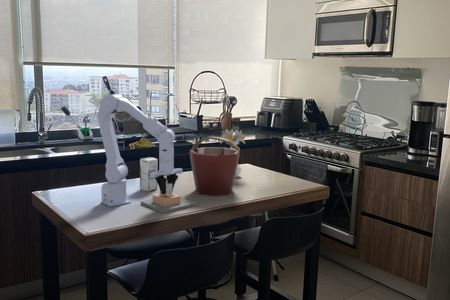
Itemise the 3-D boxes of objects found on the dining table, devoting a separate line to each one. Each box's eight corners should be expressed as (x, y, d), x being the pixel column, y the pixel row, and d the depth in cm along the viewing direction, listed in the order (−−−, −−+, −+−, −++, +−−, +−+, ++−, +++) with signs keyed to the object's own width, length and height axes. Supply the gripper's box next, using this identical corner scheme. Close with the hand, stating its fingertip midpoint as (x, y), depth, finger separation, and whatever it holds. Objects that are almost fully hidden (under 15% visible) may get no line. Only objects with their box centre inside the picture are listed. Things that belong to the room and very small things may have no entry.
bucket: (249, 193, 204) (251, 138, 200) (212, 201, 189) (212, 142, 185) (215, 182, 222) (215, 132, 218) (178, 189, 207) (178, 135, 203)
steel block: (166, 204, 179) (166, 184, 178) (160, 202, 182) (160, 182, 181) (172, 202, 181) (172, 183, 180) (166, 200, 184) (166, 181, 183)
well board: (164, 213, 171) (164, 202, 170) (140, 204, 182) (140, 194, 182) (196, 205, 182) (196, 195, 181) (172, 197, 193) (172, 188, 193)
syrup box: (149, 187, 210) (149, 156, 208) (158, 189, 207) (157, 158, 204) (139, 189, 206) (139, 158, 204) (148, 191, 202) (148, 160, 200)
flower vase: (242, 172, 247) (243, 127, 243) (245, 180, 229) (247, 131, 225) (218, 172, 247) (219, 126, 243) (220, 179, 229) (221, 130, 225)
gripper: (157, 163, 171) (157, 198, 173) (187, 159, 181) (186, 192, 183) (146, 160, 176) (147, 194, 178) (176, 156, 186) (176, 188, 188)
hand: (166, 193), depth 181 cm, fingers closed on steel block, 3 cm apart
